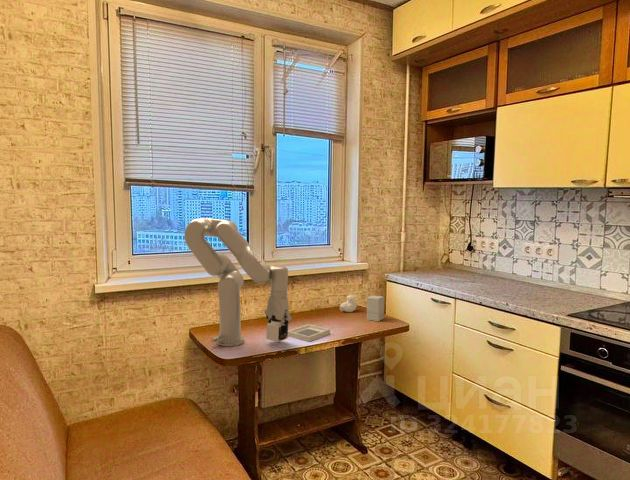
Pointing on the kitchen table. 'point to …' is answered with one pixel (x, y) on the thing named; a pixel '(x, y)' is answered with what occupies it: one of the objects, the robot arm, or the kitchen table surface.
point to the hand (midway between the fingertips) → (277, 331)
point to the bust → (349, 304)
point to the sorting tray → (308, 332)
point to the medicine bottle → (275, 330)
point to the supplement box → (375, 308)
